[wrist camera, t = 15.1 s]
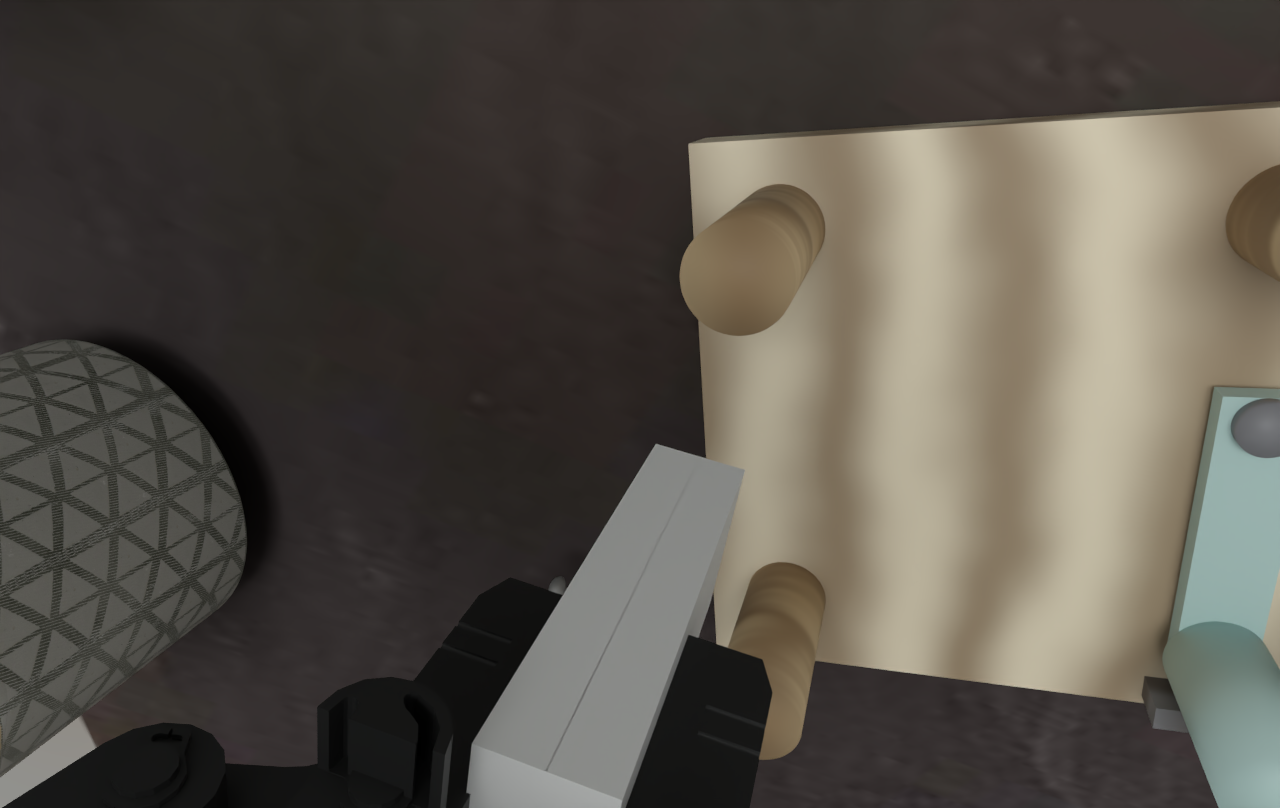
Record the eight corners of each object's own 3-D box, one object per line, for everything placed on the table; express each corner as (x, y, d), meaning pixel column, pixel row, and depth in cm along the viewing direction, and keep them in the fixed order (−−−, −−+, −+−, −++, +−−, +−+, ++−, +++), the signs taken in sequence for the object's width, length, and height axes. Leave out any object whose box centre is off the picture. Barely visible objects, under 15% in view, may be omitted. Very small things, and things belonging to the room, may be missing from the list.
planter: (167, 630, 59) (-114, 840, 43) (-8, 406, 56) (-380, 544, 40) (337, 535, 51) (67, 752, 35) (141, 266, 48) (-254, 369, 32)
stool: (729, 612, 44) (671, 777, 34) (705, 137, 36) (618, 167, 26) (1285, 677, 37) (1424, 913, 26) (1424, 92, 28) (1707, 109, 18)
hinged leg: (1251, 687, 34) (1340, 857, 27) (1150, 674, 35) (1209, 834, 28) (1320, 390, 29) (1450, 497, 22) (1201, 386, 30) (1288, 487, 23)
